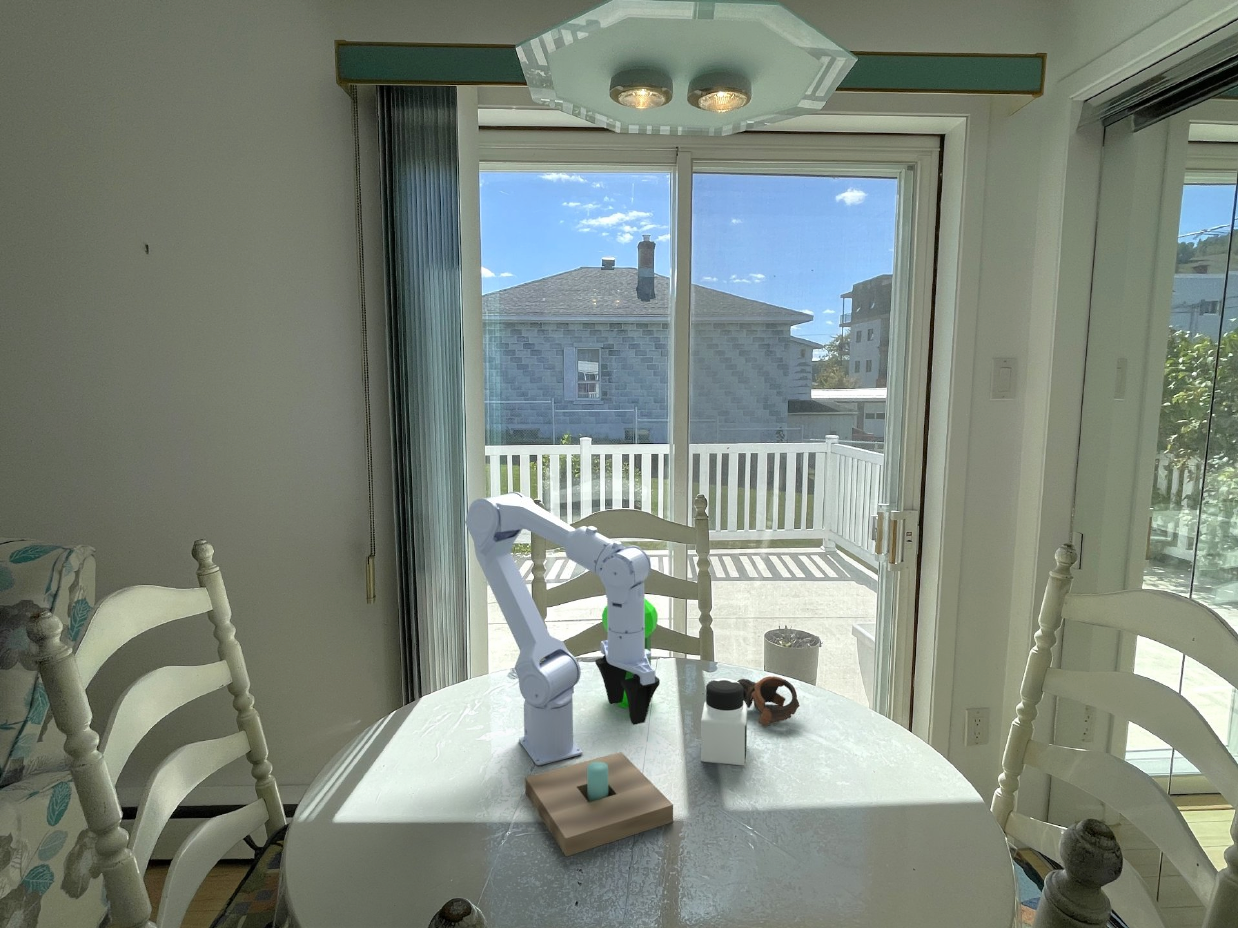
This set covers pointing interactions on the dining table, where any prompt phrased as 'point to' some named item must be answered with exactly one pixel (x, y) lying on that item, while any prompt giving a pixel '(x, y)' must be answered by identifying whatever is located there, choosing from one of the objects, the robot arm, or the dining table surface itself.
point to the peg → (597, 781)
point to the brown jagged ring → (769, 698)
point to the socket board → (597, 804)
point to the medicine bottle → (724, 723)
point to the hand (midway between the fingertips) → (626, 712)
